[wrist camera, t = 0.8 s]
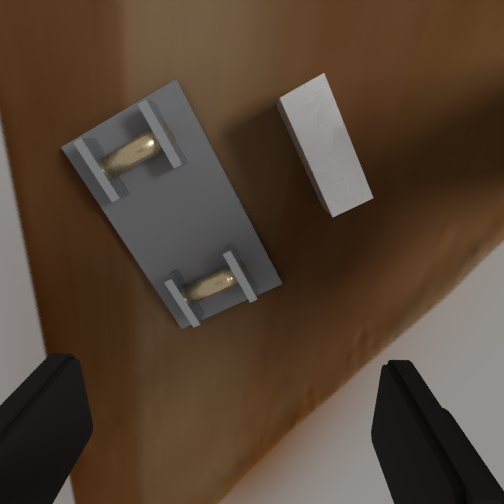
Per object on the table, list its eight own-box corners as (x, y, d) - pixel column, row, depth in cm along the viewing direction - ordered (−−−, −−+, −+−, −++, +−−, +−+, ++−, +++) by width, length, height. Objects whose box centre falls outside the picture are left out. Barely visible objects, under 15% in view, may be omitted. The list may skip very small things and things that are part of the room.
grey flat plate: (177, 80, 28) (175, 79, 27) (281, 281, 34) (282, 284, 33) (64, 147, 30) (61, 147, 29) (182, 326, 36) (181, 329, 35)
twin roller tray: (155, 102, 28) (146, 99, 25) (257, 287, 33) (257, 299, 31) (88, 142, 29) (73, 142, 26) (197, 314, 34) (193, 327, 32)
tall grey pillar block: (312, 84, 28) (324, 72, 23) (355, 188, 31) (373, 198, 26) (276, 104, 28) (279, 98, 24) (321, 205, 31) (332, 217, 26)
